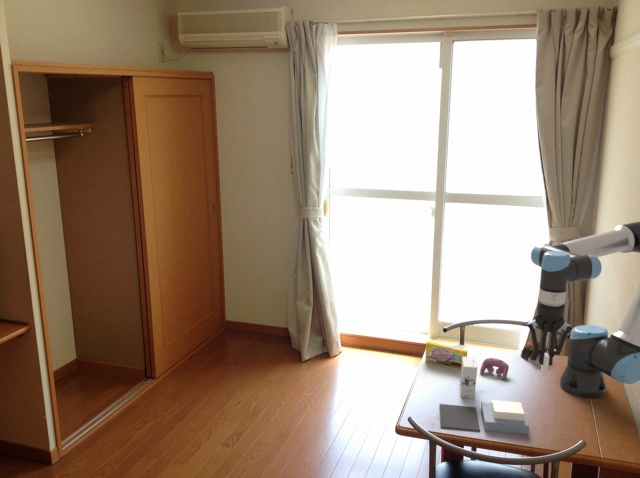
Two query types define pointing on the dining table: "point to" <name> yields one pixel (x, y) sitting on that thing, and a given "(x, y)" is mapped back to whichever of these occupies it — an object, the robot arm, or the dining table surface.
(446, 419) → the mat
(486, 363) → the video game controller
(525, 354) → the brown animal figurine
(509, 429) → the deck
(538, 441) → the dining table surface
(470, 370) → the ink box
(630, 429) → the dining table surface
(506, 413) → the tile
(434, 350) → the candy box
